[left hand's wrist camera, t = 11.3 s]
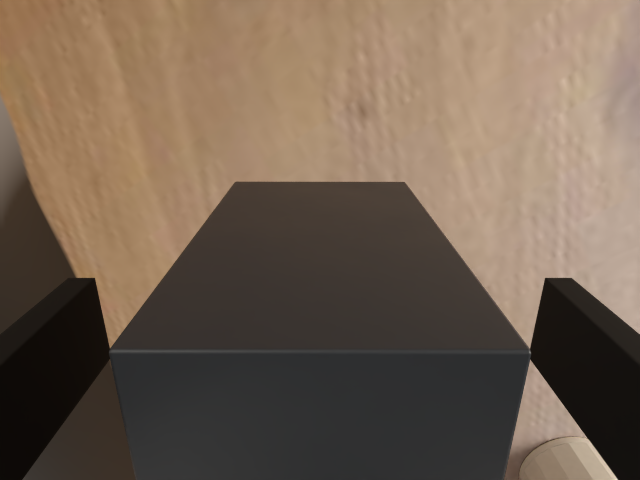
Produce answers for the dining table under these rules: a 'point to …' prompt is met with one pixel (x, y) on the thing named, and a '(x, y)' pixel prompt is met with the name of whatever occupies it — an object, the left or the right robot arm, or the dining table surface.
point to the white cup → (565, 462)
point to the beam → (319, 346)
